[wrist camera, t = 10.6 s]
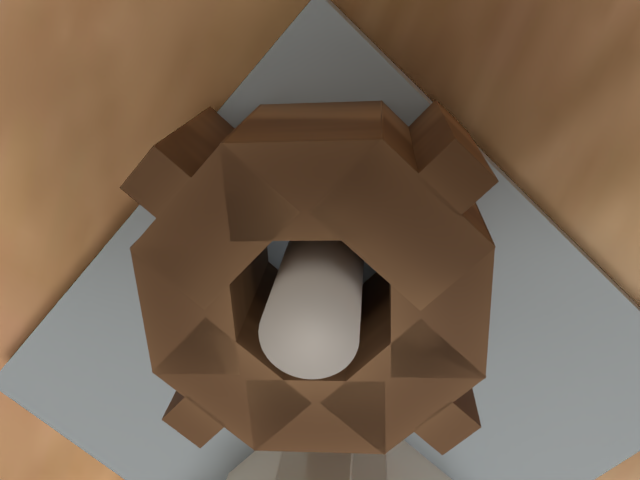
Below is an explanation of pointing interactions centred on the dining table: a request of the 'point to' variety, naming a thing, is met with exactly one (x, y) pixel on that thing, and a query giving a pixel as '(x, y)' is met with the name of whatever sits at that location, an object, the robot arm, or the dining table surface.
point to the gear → (338, 466)
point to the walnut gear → (317, 225)
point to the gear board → (528, 330)
